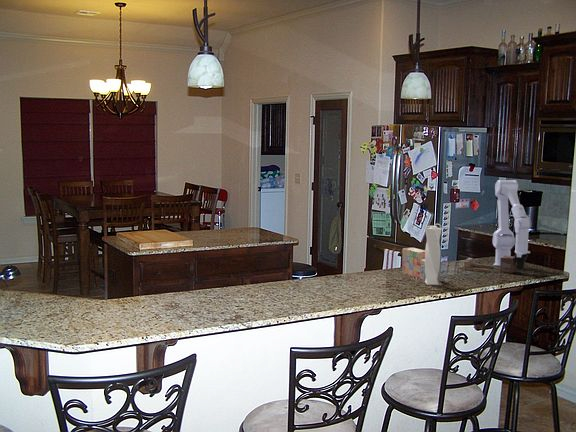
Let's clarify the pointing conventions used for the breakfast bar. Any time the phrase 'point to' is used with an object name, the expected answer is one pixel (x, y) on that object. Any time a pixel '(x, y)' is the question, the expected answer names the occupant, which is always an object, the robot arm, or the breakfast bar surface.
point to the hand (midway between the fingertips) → (520, 269)
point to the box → (508, 264)
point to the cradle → (470, 263)
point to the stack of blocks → (414, 262)
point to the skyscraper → (432, 255)
